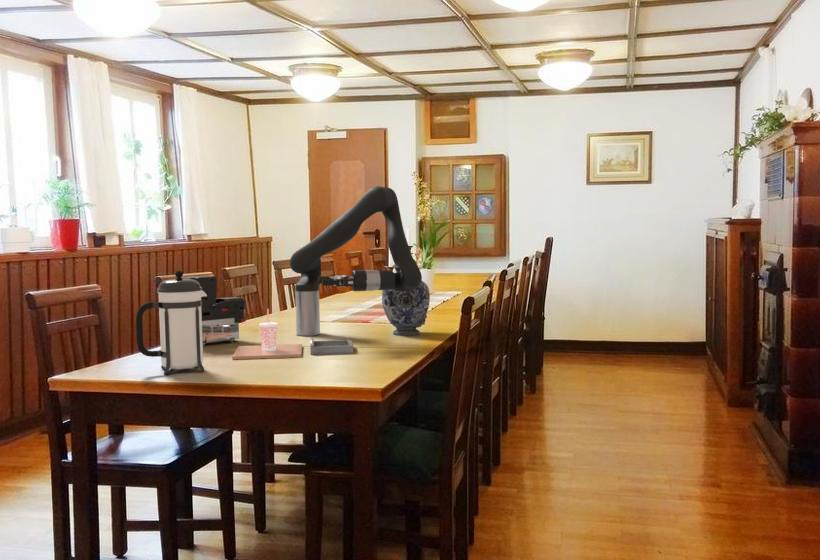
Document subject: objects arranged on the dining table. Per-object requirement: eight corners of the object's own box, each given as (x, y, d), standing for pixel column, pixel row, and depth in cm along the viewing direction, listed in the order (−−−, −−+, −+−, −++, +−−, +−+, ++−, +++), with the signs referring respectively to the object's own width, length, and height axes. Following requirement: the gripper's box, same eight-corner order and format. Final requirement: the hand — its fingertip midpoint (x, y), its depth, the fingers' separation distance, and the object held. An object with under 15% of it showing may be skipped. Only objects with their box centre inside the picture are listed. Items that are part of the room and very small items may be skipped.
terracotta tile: (238, 349, 272) (238, 346, 272) (302, 346, 275) (302, 343, 275) (232, 359, 250) (232, 356, 250) (301, 357, 253) (301, 354, 253)
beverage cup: (262, 351, 258) (260, 310, 257) (258, 349, 264) (256, 308, 263) (280, 350, 261) (279, 309, 260) (276, 347, 266) (274, 307, 265)
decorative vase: (430, 337, 292) (428, 262, 290) (381, 338, 293) (378, 264, 291) (431, 329, 313) (429, 260, 312) (385, 330, 314) (382, 261, 312)
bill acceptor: (247, 341, 290) (245, 274, 288) (188, 348, 275) (185, 278, 273) (234, 338, 298) (232, 273, 296) (176, 345, 283) (174, 276, 281)
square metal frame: (310, 348, 271) (310, 337, 271) (350, 346, 273) (350, 336, 272) (310, 354, 257) (310, 343, 257) (352, 353, 259) (352, 342, 259)
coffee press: (179, 364, 243) (175, 268, 241) (218, 368, 236) (215, 269, 233) (136, 374, 228) (132, 272, 225) (177, 378, 220) (173, 273, 218)
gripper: (361, 268, 282) (316, 269, 277) (370, 271, 268) (323, 272, 264) (361, 289, 282) (316, 290, 278) (370, 293, 269) (323, 294, 264)
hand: (320, 281), depth 271 cm, fingers open, 8 cm apart
